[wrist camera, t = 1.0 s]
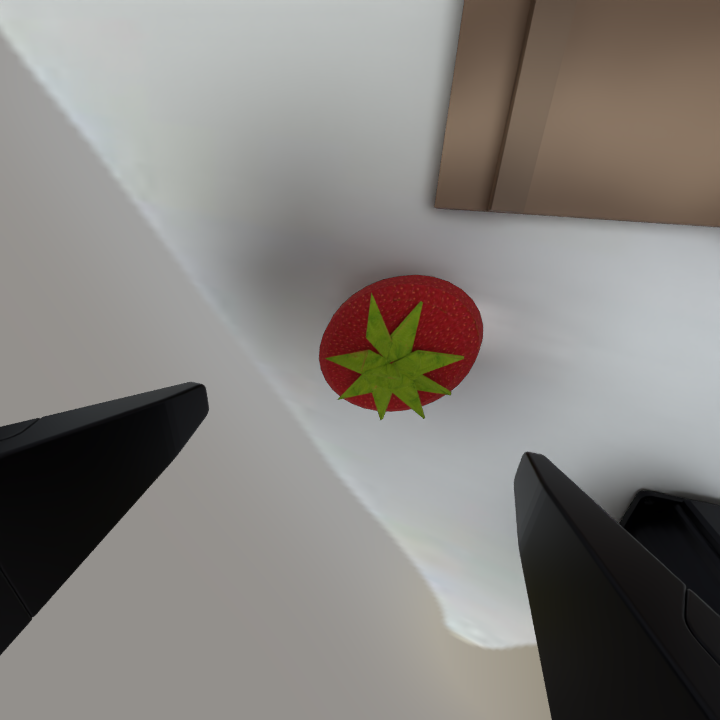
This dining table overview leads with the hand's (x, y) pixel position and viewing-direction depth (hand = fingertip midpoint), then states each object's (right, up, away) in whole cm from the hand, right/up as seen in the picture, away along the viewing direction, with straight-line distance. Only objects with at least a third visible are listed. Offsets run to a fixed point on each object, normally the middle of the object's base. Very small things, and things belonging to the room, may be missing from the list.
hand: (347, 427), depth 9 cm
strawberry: (+3, +5, +11) cm, 12 cm away
